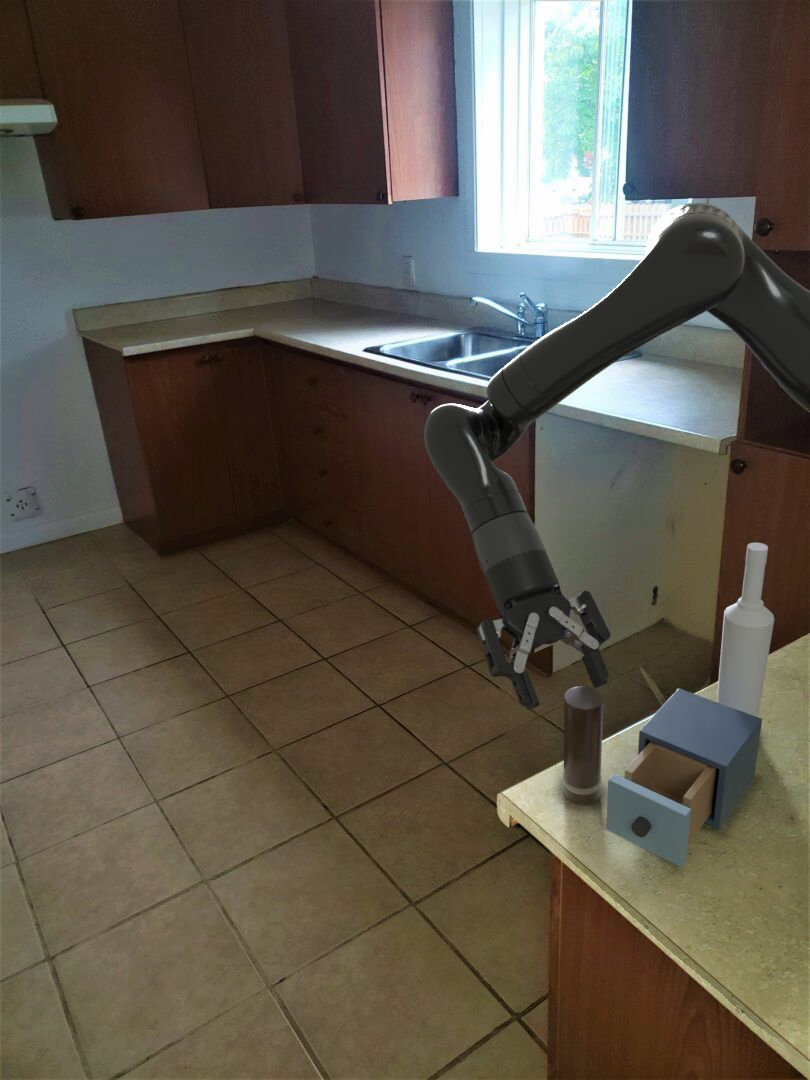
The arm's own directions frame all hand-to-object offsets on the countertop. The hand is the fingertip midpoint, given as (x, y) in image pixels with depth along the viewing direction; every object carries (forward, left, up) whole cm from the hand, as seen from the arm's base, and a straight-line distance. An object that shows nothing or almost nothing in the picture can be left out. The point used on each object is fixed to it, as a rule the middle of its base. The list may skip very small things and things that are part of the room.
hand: (568, 696), depth 88 cm
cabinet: (-12, +7, -11) cm, 18 cm away
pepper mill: (0, +3, -11) cm, 12 cm away
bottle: (-22, +3, -12) cm, 25 cm away
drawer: (-4, +11, -10) cm, 16 cm away
